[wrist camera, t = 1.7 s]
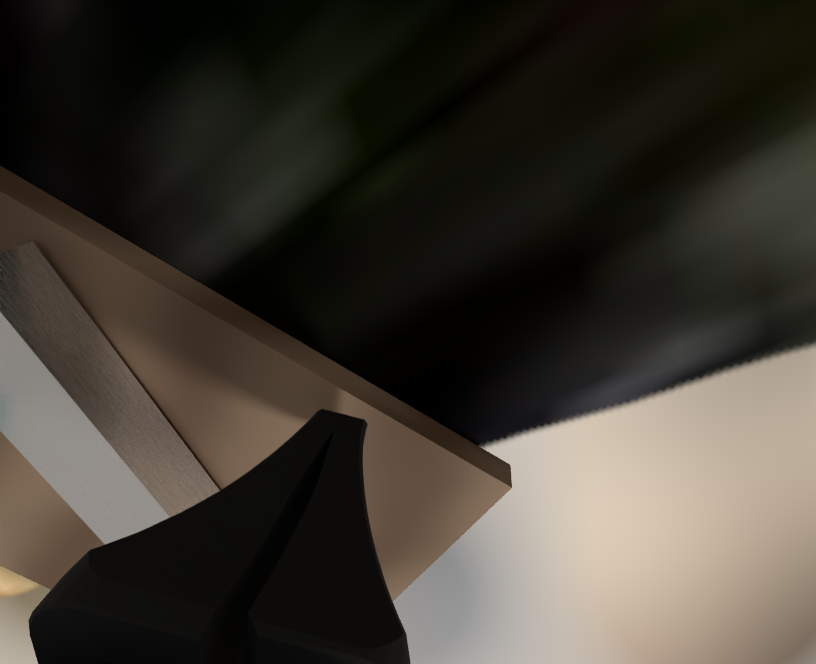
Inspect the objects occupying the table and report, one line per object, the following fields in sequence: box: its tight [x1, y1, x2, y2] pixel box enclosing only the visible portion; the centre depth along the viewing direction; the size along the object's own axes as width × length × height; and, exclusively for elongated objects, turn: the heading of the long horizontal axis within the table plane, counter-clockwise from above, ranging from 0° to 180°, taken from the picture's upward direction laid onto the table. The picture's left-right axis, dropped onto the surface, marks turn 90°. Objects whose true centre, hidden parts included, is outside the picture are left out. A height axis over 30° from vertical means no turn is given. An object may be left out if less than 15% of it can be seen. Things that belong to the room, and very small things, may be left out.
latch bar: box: [0, 242, 220, 544], centre depth 15 cm, size 16×4×3 cm, turn 24°
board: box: [0, 166, 512, 601], centre depth 18 cm, size 21×17×1 cm
